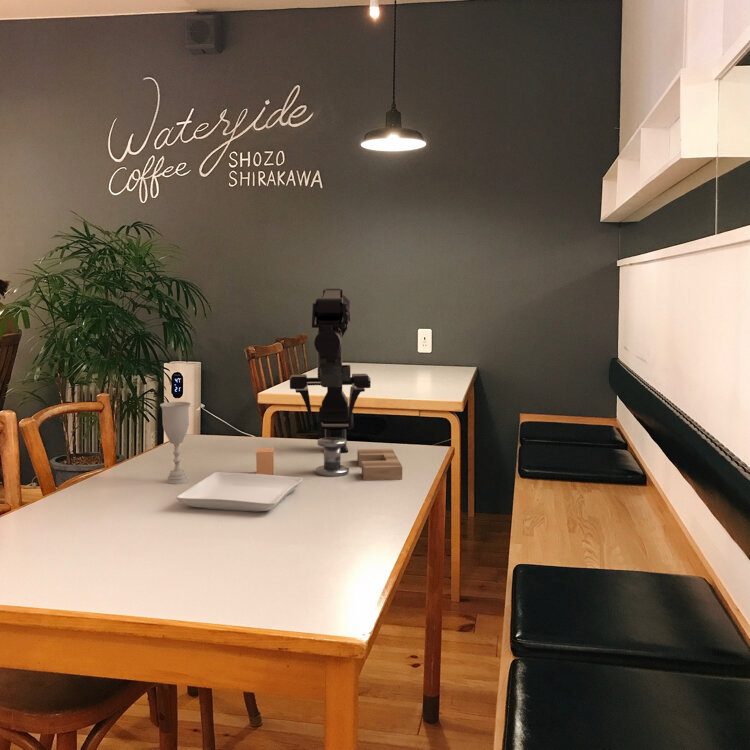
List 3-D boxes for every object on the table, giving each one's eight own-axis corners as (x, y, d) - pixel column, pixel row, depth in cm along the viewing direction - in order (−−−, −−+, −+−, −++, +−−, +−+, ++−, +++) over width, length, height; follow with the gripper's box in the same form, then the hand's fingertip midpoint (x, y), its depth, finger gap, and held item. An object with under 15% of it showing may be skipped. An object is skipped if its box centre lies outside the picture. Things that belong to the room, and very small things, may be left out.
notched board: (357, 460, 210) (357, 449, 210) (392, 460, 211) (392, 448, 211) (363, 480, 190) (363, 467, 190) (402, 479, 191) (402, 466, 191)
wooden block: (257, 472, 198) (257, 447, 198) (274, 471, 199) (273, 447, 198) (256, 477, 193) (256, 452, 193) (273, 476, 194) (273, 451, 193)
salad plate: (274, 518, 162) (274, 501, 161) (174, 512, 166) (173, 495, 165) (305, 491, 182) (304, 476, 182) (215, 486, 186) (214, 471, 186)
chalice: (188, 485, 185) (186, 406, 183) (158, 485, 186) (155, 406, 183) (195, 477, 193) (193, 401, 191) (167, 477, 193) (164, 401, 191)
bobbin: (315, 469, 201) (315, 437, 200) (347, 468, 202) (347, 436, 201) (316, 477, 193) (315, 443, 192) (349, 476, 194) (349, 443, 193)
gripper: (289, 355, 182) (290, 424, 184) (373, 354, 184) (373, 423, 186) (289, 350, 193) (290, 416, 195) (368, 350, 195) (368, 414, 197)
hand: (330, 417), depth 193 cm, fingers open, 9 cm apart
